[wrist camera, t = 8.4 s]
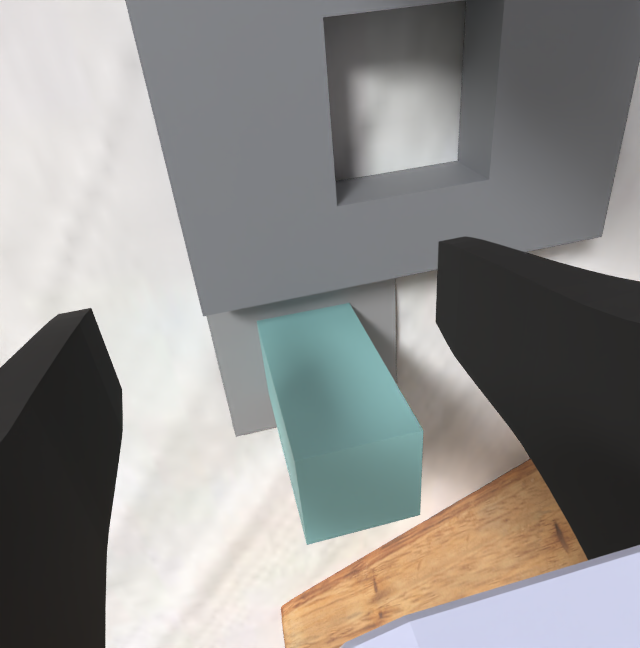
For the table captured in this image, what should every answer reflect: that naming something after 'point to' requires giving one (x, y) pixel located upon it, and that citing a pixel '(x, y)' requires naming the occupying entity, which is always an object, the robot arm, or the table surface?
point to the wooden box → (440, 562)
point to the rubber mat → (246, 355)
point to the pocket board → (388, 188)
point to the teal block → (340, 423)
